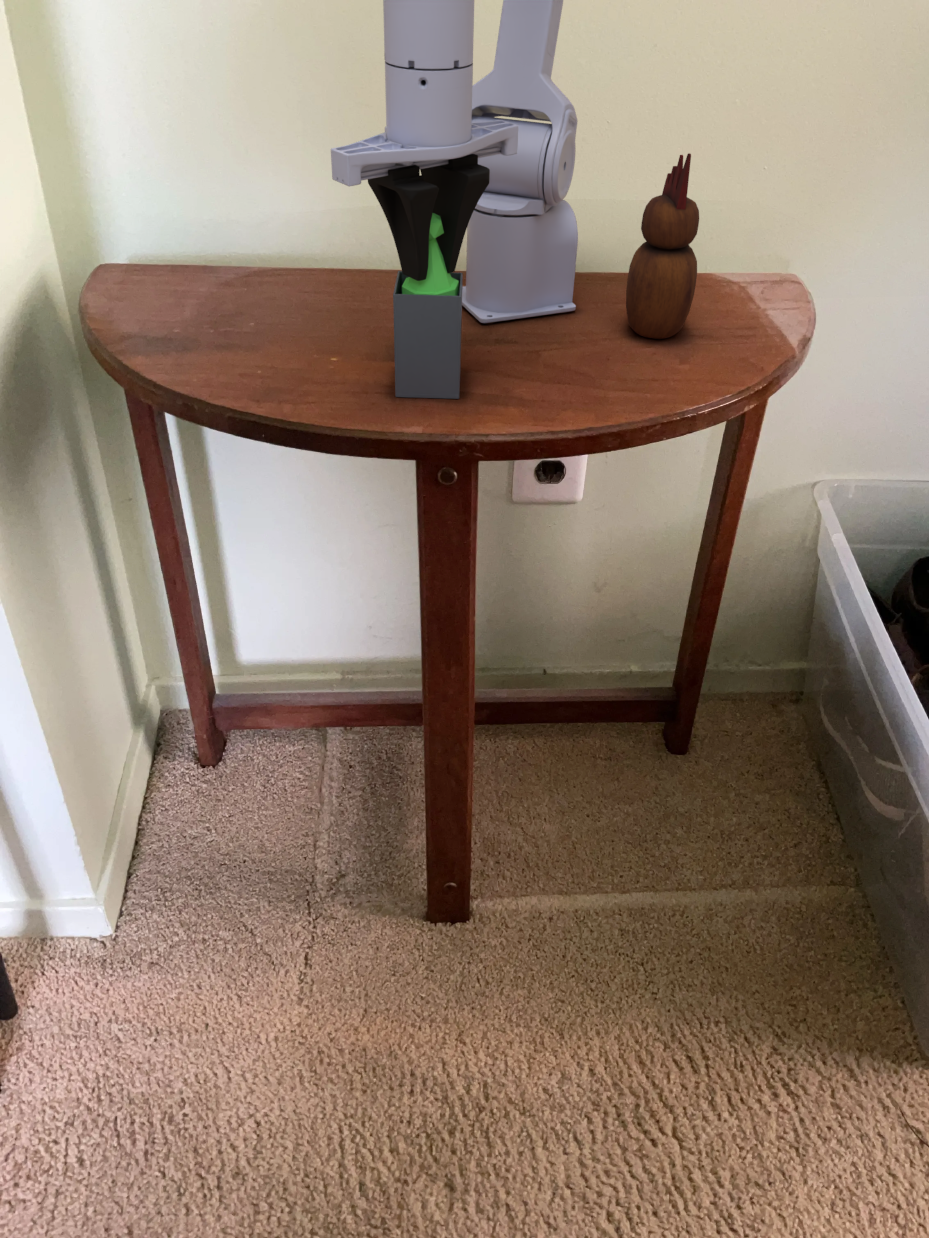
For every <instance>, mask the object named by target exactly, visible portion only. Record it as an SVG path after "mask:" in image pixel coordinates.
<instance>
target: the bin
mask: <svg viewBox="0 0 929 1238" xmlns="http://www.w3.org/2000/svg"><path fill="white" fill-rule="evenodd" d="M450 275H451V277H452V278H454V279H456V280H458V281H459V292H458V294H457V296H447V295H412V294H402V285H403V283H404V281H405V279H406V278H408V276H406V275H404V274H403V273H402V270H397V274H396V279H395V284H394V288H393V293H392V301H393V302H392V303H393V304H392V305H393V306H392V309H393V346H394V347H393V351H394V386H395V387H394V393H395V395H394V397H395V398H412V399H413V398H414V399H415V398H417V399H423V398H424V399H447V400H449V399H450V400H451V399H453V400H459V399H460V393H461V392H460V390H461V388H460V387H461V372H462V371H461V368H462V367H461V365H462V323H463V305H462V287H463V276H464V273H463V272H456V271H455V272H452V273H450Z"/></svg>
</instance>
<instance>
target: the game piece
mask: <svg viewBox="0 0 929 1238" xmlns="http://www.w3.org/2000/svg"><path fill="white" fill-rule="evenodd" d="M443 233H444V231H443V226H442V222H441V218H440V216H439V215H437V214H434V213H432V218H431V224H430V231H429V259H428V271H427V277H426V279H425V280H421V281H417V280H415V279H412V278H410V277H408V278H406V279H405V281H404V283H403V285H402V294H412V295H447V296H457V294H458V292H459V281H458V280H456V279H454V278H452V277H451V275H450V273H447V270H446V266H445V262H444V259H443V255H442V253H441V250H440V248H439V246H438V243H437V241H436V238H437V237H438V236H440V235H442V234H443Z"/></svg>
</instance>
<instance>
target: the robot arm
mask: <svg viewBox="0 0 929 1238" xmlns="http://www.w3.org/2000/svg"><path fill="white" fill-rule="evenodd" d="M563 6H564V0H502V6H501V13H500V20H499V26H498V27H499V28H498V35H497V41H496V48H495V55H494V62H493V68H492V70H491V71H490V72H489V73H488V74H486V75H485V76H483V77H482V78H481V79H480V80H478V81H476V82H475V83H474V84H473V82H474V78H473V77H474V33H475V0H382V7H383V9H382V11H383V12H382V13H383V47H384V48H383V49H384V51H383V52H384V53H383V54H384V55H383V56H384V77H385V78H384V87H385V88H384V91H385V92H384V93H385V94H384V95H385V125H386V126H385V127H384V132H382V133H379V134H376V135H373V136H369V137H367V138H364V139H362V140H358V141H356V142H353V143H350V144H349V143H348V144H346V145H342V146H336V147H331V148H330V160H331V161H330V162H331V178H332V180H333V181H335V182H338V183H339V184H342V185H345V186H347V187H355V186H358V185H362V181H367V184H368V185H369V187H370V189H371V191H372V193H374V196H375V198H376V200H377V201H378V203H379V206H380V207H381V210H382V212H383V214H384V216H385V218H386V221H387V224H388V226H389V229H390V233H391V235H392V238H393V241H394V245H395V248H396V252H397V256H398V259H399V265H400V269H401V271H402V273H403V274H404V275H406V276H408V277H410V278H412V279H415V280H417V281H421V280H425V279H426V277H427V271H428V259H429V231H430V224H431V218H432V213H434V214H437V215H439V216H440V218H441V222H442V226H443V231H444V233H443V234H442V235H440V236H438V237H437V238H436V241H437V243H438V246H439V248H440V250H441V253H442V255H443V259H444V262H445V266H446V270H447V273H452V272H456V268H457V264H458V260H459V257H460V253H461V249H462V246H463V241H464V238H465V235H466V258H465V261H466V262H465V263H466V264H465V285H462V307H463V308H464V309H465V310H466V311H467V312H468V313H470V314H471V315H472V316H473V317H474V318H475V319H476V320H477V321H478V322H479V323H480V324H491V323H497V322H504V321H505V322H506V321H512V320H520V319H526V318H527V319H528V318H533V317H541V316H547V315H548V316H549V315H555V314H562V313H571V312H574V311H576V309H577V305H576V304H575V303H574V302H573V297H574V289H575V277H576V266H577V257H578V256H577V255H578V245H579V232H578V231H579V229H578V222H577V218H576V215H575V211H574V209H573V208H572V206H571V204H570V203H569V202H568V201H566V200H565V198H566V196H567V194H568V193H569V190H570V187H571V184H572V180H573V176H574V170H575V165H576V164H575V163H576V136H577V128H578V117H577V113H576V109H575V107H574V105H573V103H572V102H571V100H570V99H569V98H568V97H567V95H566V94H564V93H563V91H562V90H561V89H560V88H559V87H558V85H556V83H555V82H554V81H553V79H552V73H553V69H554V68H553V67H554V63H555V62H554V61H555V55H556V50H557V49H556V48H557V43H558V36H559V30H560V23H561V17H562V11H563ZM503 117H505V118H503ZM510 118H514V119H510ZM520 119H521V120H520ZM522 119H524V120H522ZM528 120H531V121H528ZM537 121H539V122H537ZM544 122H545V123H544ZM547 122H548V123H547ZM549 122H550V123H549Z"/></svg>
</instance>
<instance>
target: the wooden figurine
mask: <svg viewBox="0 0 929 1238" xmlns="http://www.w3.org/2000/svg"><path fill="white" fill-rule="evenodd" d="M691 160H692V154H691V153H687V155H686V158H685V161H684V155H683V154H680V155H679V157H678V161H677V165H673V166H672V168H671V172H669V173H667V174H666V178H665V181H664V186H663V189H662V193H661V194H660V195H656V196H654V197H652V198H651V199H650V200H649V201H648V203H647V204H646V205H645V208H644V210H643V213H642V218H641V223H640V224H641V226H640V231H641V234H642V237H643V239H644V240H645V241H644V242H643V243H642V244H640V245H639V247H638V248H637V249H636V250H635V252H634V254H633V255H632V258H631V261H630V264H629V268H628V274H627V279H626V288H625V309H626V317H627V321H628V325H629V327H630V328H631V329H632V331H633V332H634V333H636V334H637V335H639V336H640V337H644V338H649V339H655V340H661V339H667V338H671V337H673V336H675V335H676V334H677V333H679V332H680V331H681V330H682V328H683V326H684V325H685V323H686V322H687V318H688V316H689V313H690V312H691V308H692V305H693V304H692V303H693V301H694V296H695V291H696V285H697V279H698V260H697V257H696V255H695V252H694V249H693V248H692V247H691V246H690V245H691V243H692V242H693V241H694V240H695V238H696V237H697V235H698V230H699V225H700V209H699V207H698V204H697V203H696V201H695V200H693V199H691V198H690V197H688V189H689V180H690V172H691Z"/></svg>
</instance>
